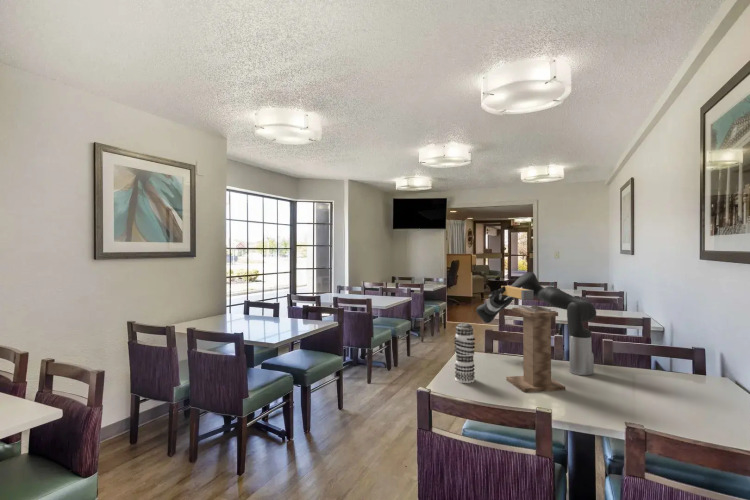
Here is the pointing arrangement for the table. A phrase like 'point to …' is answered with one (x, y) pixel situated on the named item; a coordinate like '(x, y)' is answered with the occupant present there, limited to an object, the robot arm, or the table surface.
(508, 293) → the tan rectangular block
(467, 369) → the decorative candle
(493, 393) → the table surface
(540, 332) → the stand
